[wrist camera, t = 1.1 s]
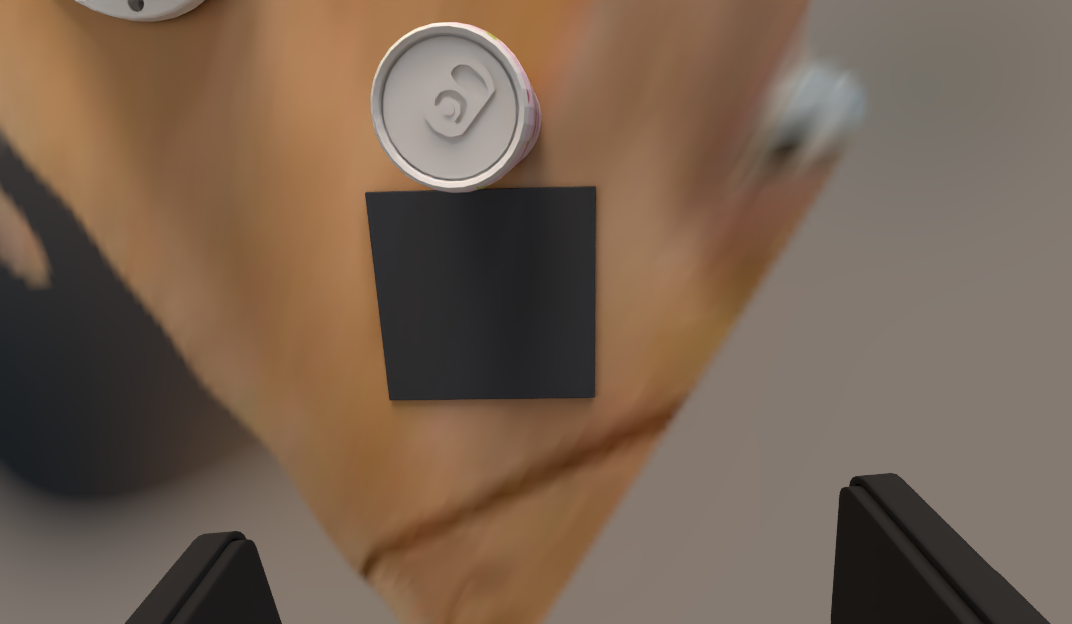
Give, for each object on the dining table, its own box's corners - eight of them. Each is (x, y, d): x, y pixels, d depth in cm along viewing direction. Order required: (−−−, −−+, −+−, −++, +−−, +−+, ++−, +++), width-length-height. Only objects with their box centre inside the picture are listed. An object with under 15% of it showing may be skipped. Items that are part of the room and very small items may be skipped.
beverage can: (552, 80, 32) (552, 41, 18) (528, 179, 34) (512, 214, 20) (455, 55, 32) (377, -7, 18) (436, 156, 34) (351, 174, 19)
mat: (366, 192, 34) (364, 192, 34) (595, 186, 34) (595, 186, 34) (390, 398, 39) (389, 400, 38) (594, 395, 38) (594, 397, 38)
